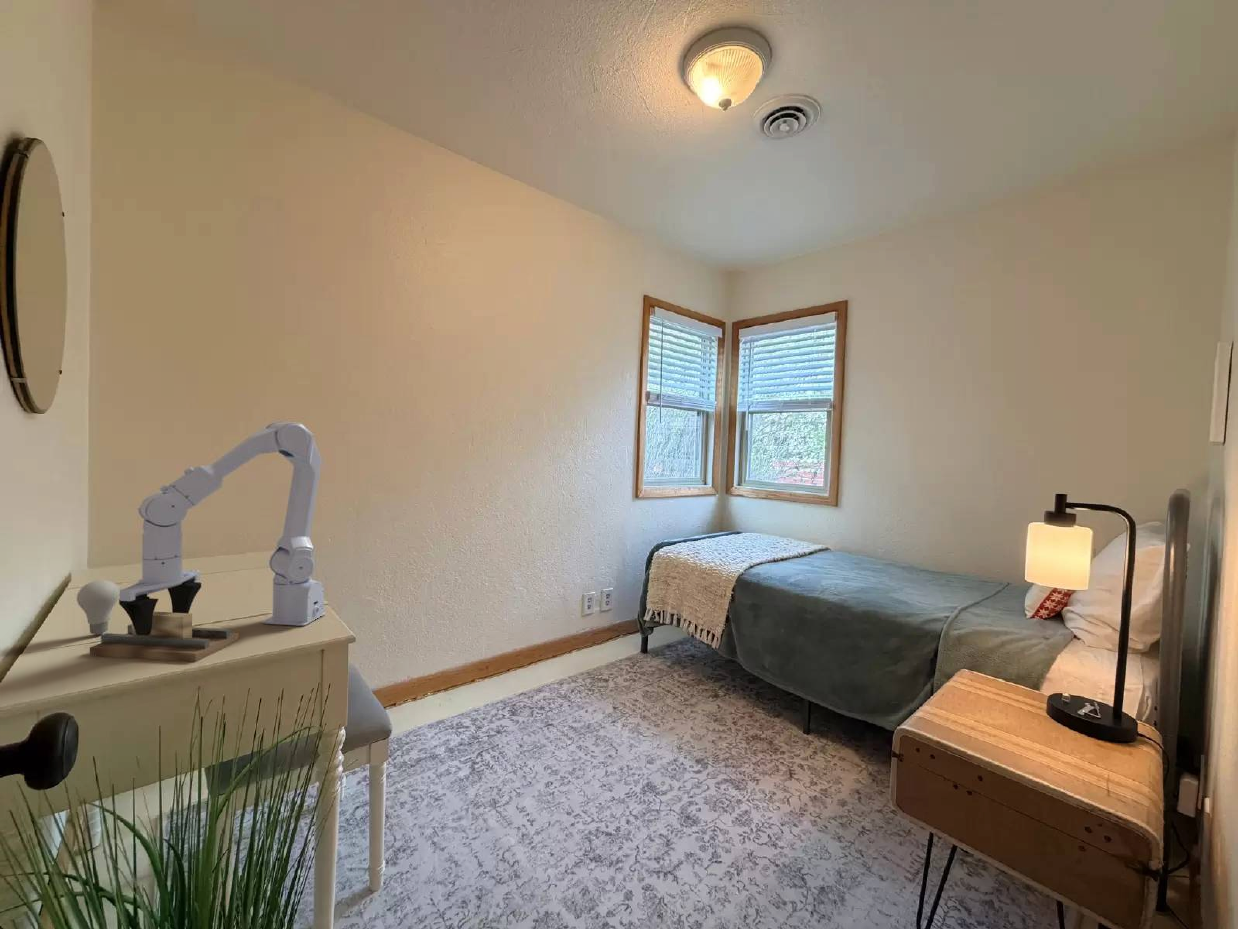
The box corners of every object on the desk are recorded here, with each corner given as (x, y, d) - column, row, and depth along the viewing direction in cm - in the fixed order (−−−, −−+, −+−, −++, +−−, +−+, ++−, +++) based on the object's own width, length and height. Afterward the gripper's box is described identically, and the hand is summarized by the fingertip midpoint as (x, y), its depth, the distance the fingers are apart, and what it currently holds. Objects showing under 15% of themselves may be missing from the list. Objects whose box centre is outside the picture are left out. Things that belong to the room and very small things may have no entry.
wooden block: (192, 639, 100) (192, 613, 100) (182, 643, 98) (183, 617, 98) (142, 636, 100) (142, 610, 100) (131, 640, 98) (131, 614, 98)
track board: (238, 640, 104) (238, 625, 104) (195, 661, 94) (195, 645, 94) (142, 635, 105) (142, 620, 105) (89, 655, 95) (89, 639, 95)
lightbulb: (92, 642, 100) (92, 586, 100) (68, 638, 102) (68, 583, 101) (128, 631, 106) (128, 578, 106) (104, 628, 108) (104, 575, 107)
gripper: (176, 547, 106) (176, 613, 107) (102, 564, 92) (103, 640, 92) (209, 549, 106) (209, 615, 106) (141, 566, 91) (141, 642, 92)
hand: (162, 627), depth 99 cm, fingers open, 7 cm apart
